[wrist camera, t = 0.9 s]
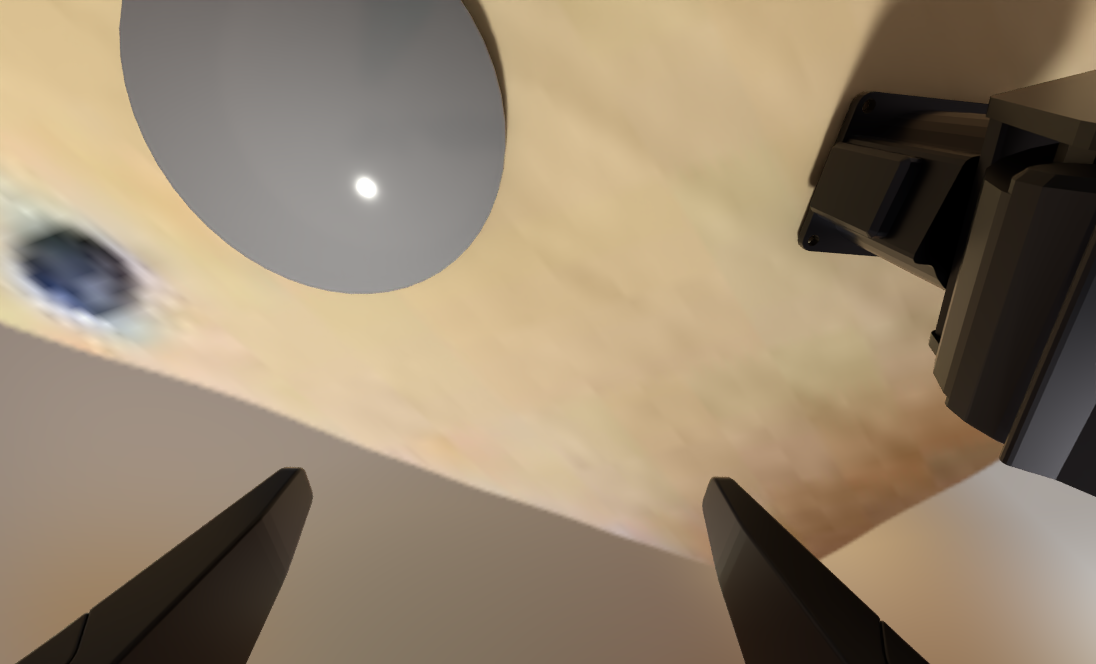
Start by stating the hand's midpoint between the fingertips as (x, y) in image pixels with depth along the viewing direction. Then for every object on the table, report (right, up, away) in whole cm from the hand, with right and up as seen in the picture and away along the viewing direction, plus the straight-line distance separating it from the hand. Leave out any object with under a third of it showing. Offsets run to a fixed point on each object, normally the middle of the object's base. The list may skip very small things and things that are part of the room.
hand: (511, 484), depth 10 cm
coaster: (-8, +12, +8) cm, 16 cm away
